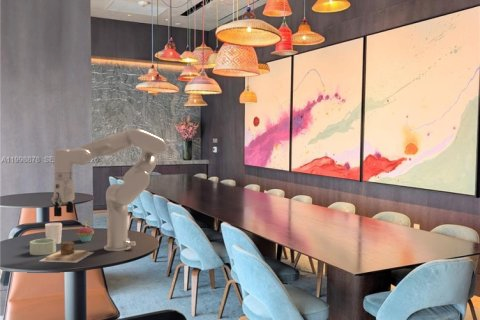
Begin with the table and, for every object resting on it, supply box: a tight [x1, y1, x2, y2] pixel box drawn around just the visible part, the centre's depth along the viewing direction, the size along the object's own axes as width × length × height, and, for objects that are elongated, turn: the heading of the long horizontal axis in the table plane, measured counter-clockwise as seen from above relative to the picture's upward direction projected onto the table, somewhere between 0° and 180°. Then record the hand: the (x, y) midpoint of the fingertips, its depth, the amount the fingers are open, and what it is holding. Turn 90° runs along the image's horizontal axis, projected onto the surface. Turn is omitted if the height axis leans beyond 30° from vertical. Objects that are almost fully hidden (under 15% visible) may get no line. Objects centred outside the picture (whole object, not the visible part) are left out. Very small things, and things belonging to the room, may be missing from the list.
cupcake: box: [76, 219, 95, 243], centre depth 219 cm, size 9×8×12 cm
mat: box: [39, 251, 95, 264], centre depth 187 cm, size 17×17×1 cm
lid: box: [45, 241, 89, 261], centre depth 187 cm, size 13×13×6 cm
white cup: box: [44, 222, 63, 245], centre depth 212 cm, size 8×8×10 cm
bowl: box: [29, 237, 57, 256], centre depth 194 cm, size 11×11×6 cm
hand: (63, 214), depth 188 cm, fingers open, 9 cm apart
